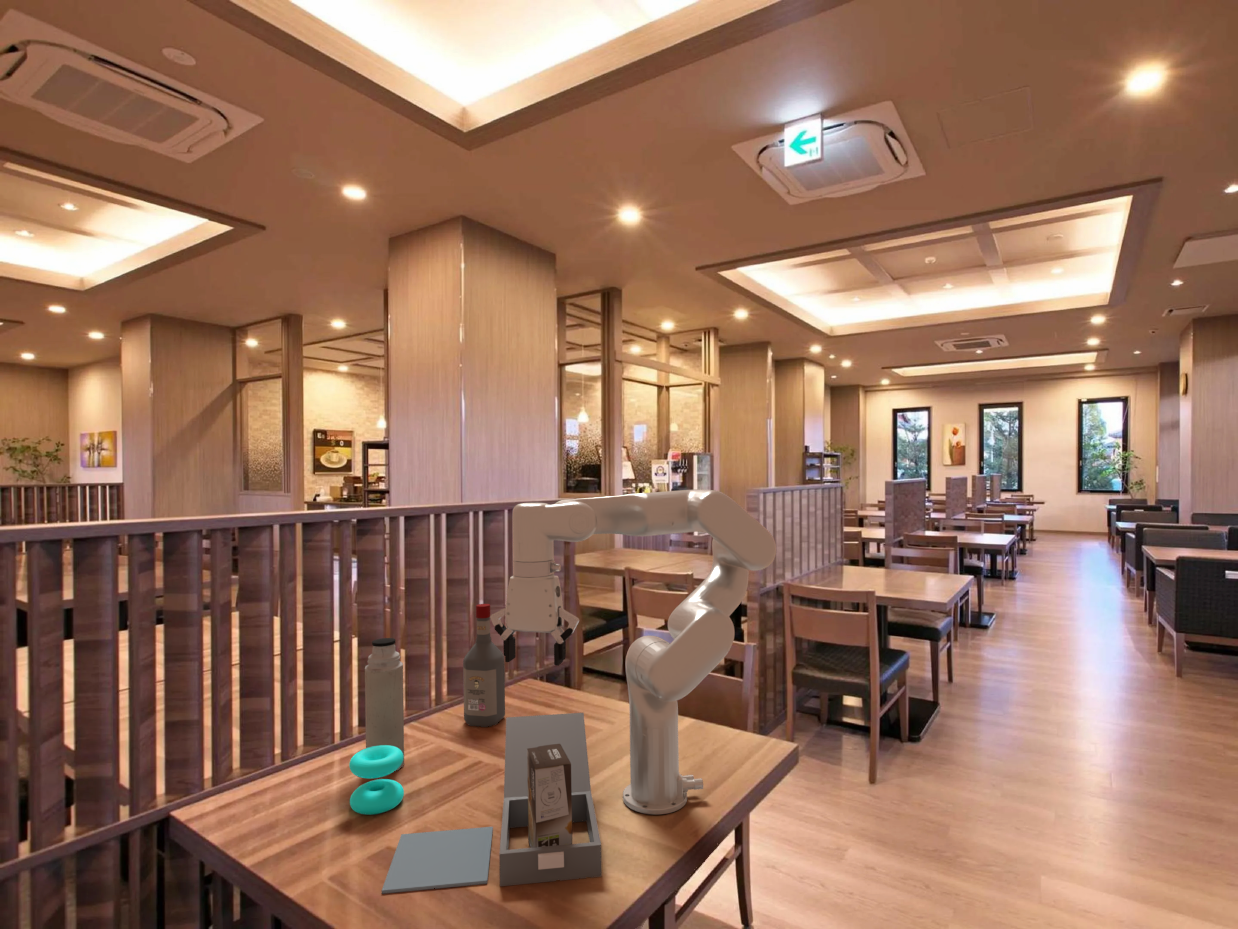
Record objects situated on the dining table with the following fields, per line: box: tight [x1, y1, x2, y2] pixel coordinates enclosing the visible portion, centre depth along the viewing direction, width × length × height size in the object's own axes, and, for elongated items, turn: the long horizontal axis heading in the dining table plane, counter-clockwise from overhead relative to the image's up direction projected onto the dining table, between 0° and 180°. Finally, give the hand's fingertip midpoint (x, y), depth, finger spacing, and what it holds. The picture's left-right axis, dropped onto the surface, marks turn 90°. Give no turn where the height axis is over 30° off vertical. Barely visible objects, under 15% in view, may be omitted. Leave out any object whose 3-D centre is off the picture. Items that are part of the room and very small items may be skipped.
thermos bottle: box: [364, 637, 405, 771], centre depth 147 cm, size 8×8×28 cm
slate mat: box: [381, 826, 494, 894], centre depth 111 cm, size 16×16×1 cm
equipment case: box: [498, 790, 603, 887], centre depth 113 cm, size 16×19×5 cm
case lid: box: [503, 712, 592, 799], centre depth 131 cm, size 16×18×1 cm
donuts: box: [348, 745, 405, 816], centre depth 130 cm, size 10×10×10 cm
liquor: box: [462, 603, 506, 728], centre depth 173 cm, size 9×9×30 cm
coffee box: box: [527, 744, 573, 848], centre depth 114 cm, size 9×6×16 cm
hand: (534, 661), depth 123 cm, fingers open, 9 cm apart
